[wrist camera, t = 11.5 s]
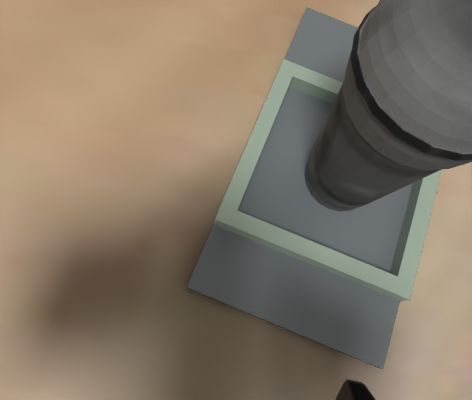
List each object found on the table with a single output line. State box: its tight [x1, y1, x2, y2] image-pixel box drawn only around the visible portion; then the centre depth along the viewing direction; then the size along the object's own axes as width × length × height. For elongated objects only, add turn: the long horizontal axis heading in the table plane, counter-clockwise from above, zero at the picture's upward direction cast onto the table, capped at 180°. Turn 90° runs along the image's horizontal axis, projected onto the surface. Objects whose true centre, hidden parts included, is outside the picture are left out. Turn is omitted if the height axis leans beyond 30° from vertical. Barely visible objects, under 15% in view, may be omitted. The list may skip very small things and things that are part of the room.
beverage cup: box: [305, 0, 472, 212], centre depth 16 cm, size 7×7×20 cm
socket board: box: [187, 8, 441, 369], centre depth 26 cm, size 22×12×2 cm, turn 159°
